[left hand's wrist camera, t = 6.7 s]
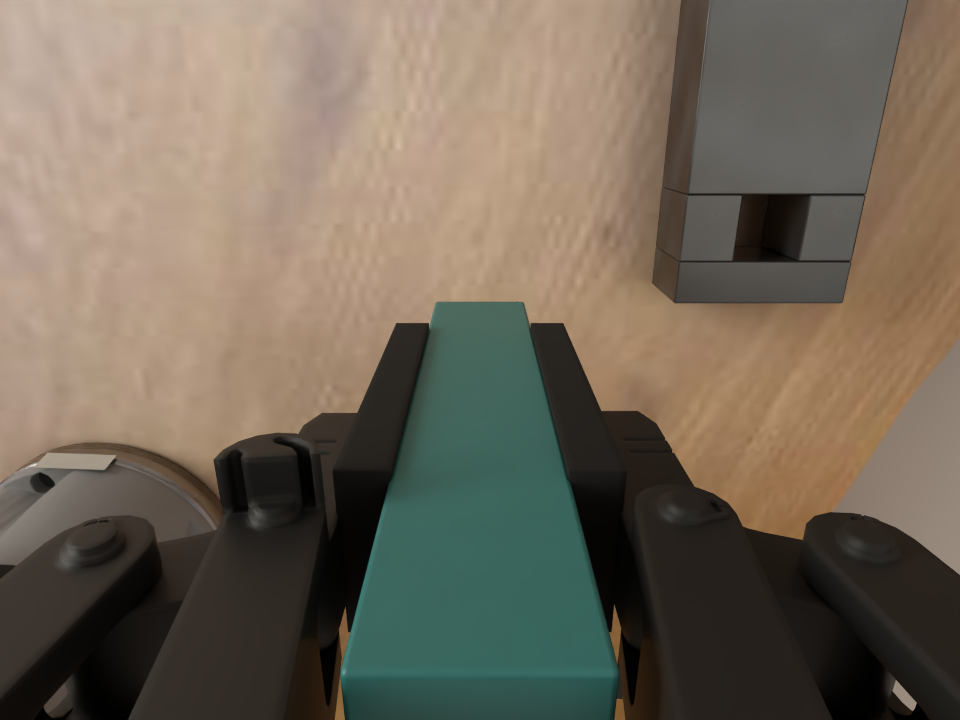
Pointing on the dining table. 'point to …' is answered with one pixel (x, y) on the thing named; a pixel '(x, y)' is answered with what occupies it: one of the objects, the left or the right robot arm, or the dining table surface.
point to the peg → (479, 548)
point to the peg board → (772, 145)
